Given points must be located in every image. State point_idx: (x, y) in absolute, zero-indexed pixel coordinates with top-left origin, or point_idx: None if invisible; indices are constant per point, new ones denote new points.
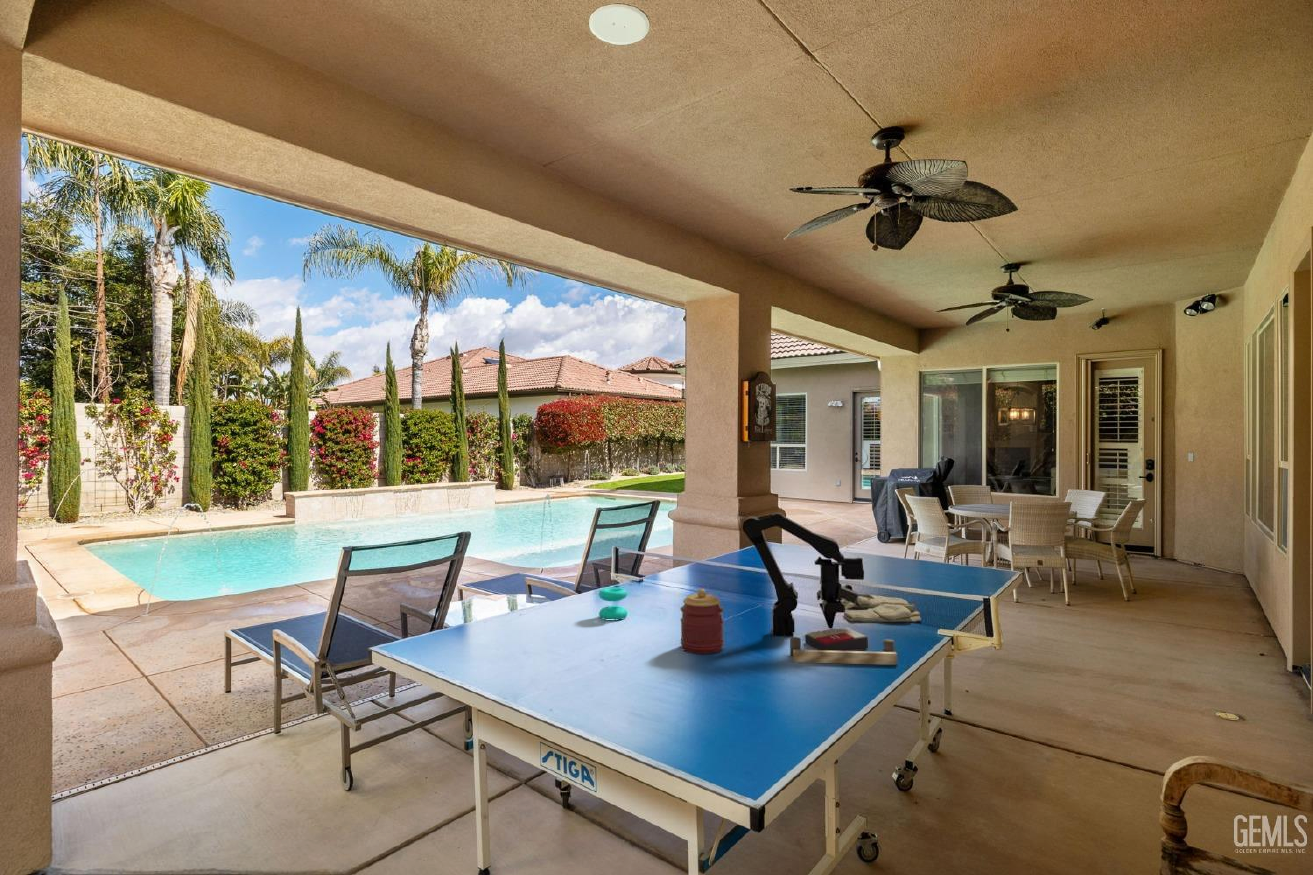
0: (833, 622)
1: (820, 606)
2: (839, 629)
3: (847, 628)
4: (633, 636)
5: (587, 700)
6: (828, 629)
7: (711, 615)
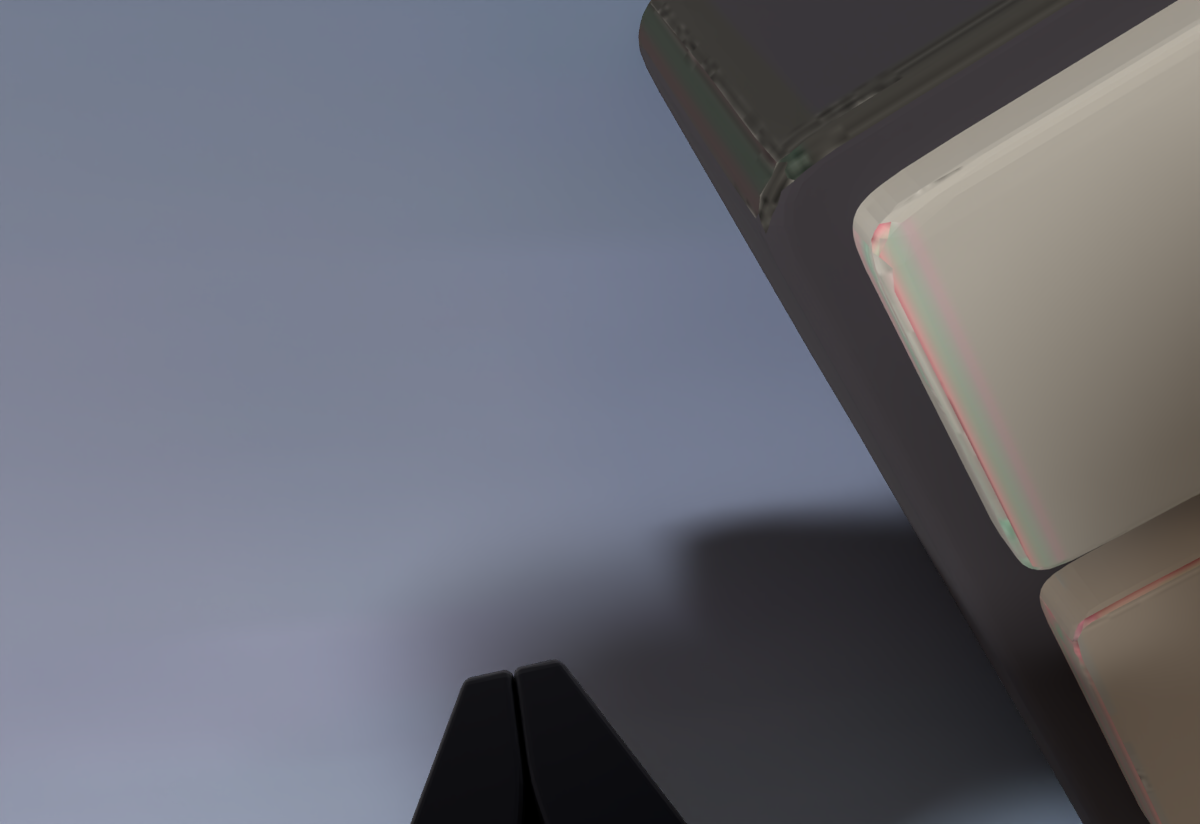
0: (677, 815)
1: None
2: (1164, 473)
3: (1123, 172)
4: None
5: None
6: (1144, 763)
7: None
